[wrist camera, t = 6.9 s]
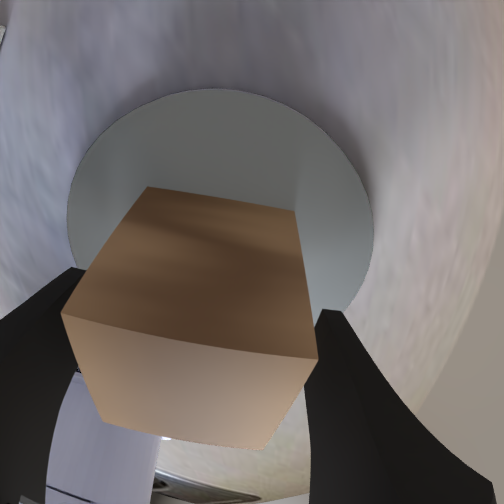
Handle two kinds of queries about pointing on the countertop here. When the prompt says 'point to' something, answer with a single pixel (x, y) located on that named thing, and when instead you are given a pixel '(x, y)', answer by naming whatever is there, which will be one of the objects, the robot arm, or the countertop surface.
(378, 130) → the countertop surface
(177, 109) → the slate dish
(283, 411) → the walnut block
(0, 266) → the countertop surface
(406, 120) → the countertop surface
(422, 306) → the countertop surface
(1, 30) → the small box
